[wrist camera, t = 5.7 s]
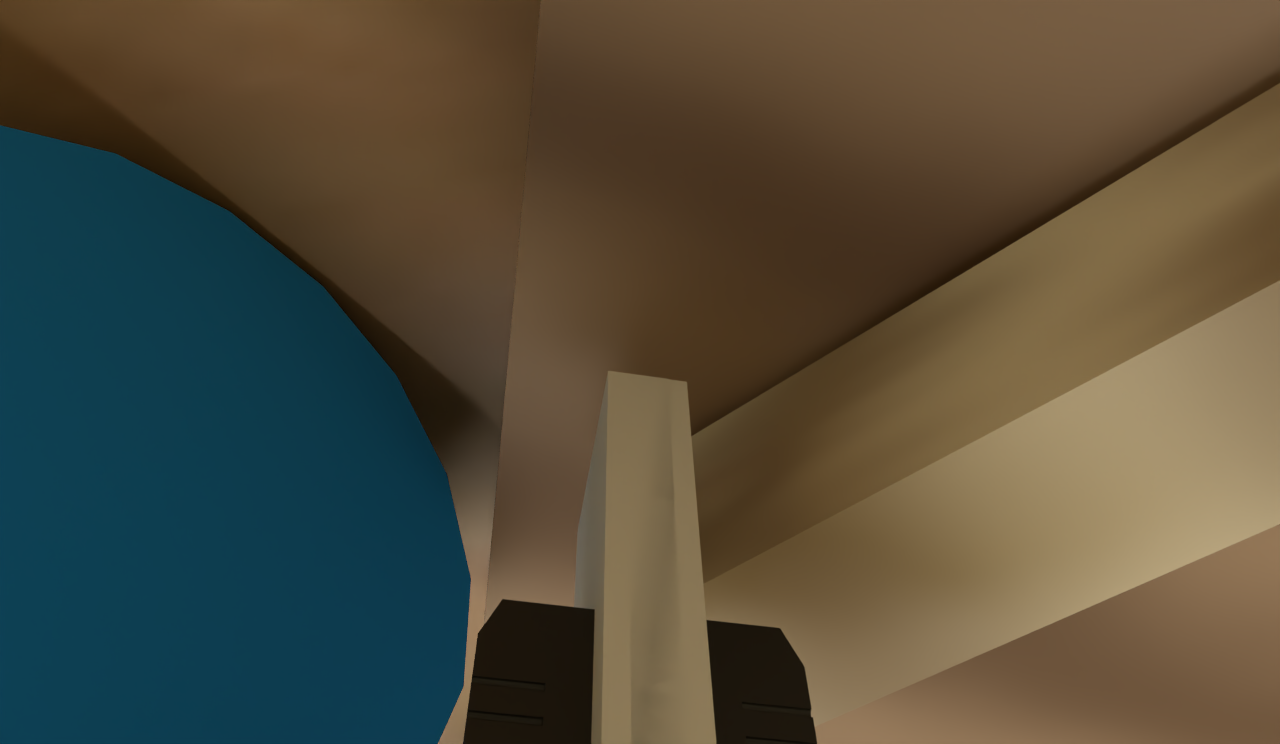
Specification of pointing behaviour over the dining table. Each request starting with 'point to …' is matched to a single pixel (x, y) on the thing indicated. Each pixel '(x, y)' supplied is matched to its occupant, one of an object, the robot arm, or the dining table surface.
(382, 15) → the dining table surface
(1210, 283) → the folding leg
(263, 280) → the thermos
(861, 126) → the stool seat
